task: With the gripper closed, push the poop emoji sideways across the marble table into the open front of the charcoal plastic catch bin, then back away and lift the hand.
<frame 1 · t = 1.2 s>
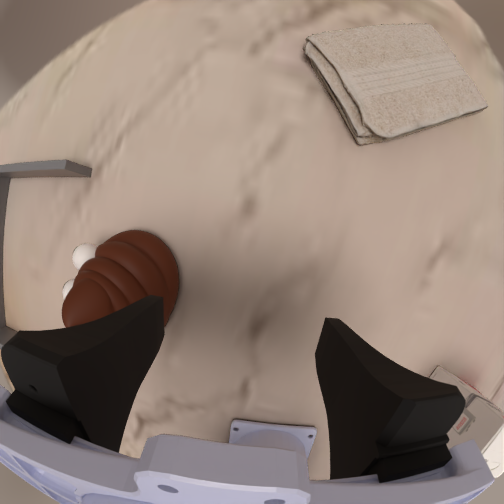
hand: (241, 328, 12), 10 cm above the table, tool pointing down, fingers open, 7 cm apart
catch bin: (34, 263, 23), on the table
poop emoji: (135, 286, 23), on the table
ink box: (444, 394, 22), on the table
washcloth: (400, 79, 21), on the table
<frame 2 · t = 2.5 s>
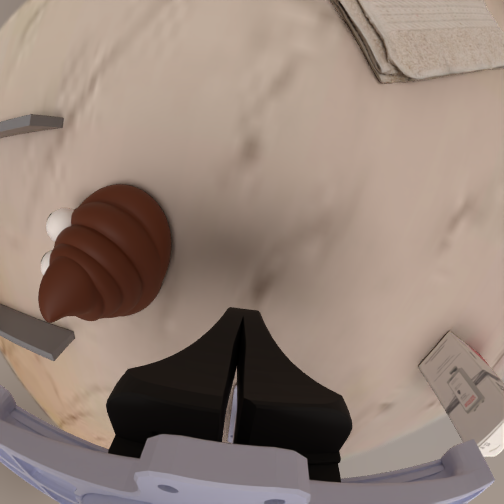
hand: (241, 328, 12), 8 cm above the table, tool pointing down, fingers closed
catch bin: (12, 231, 20), on the table
poop emoji: (122, 246, 20), on the table
ink box: (450, 359, 22), on the table
washcloth: (425, 17, 13), on the table
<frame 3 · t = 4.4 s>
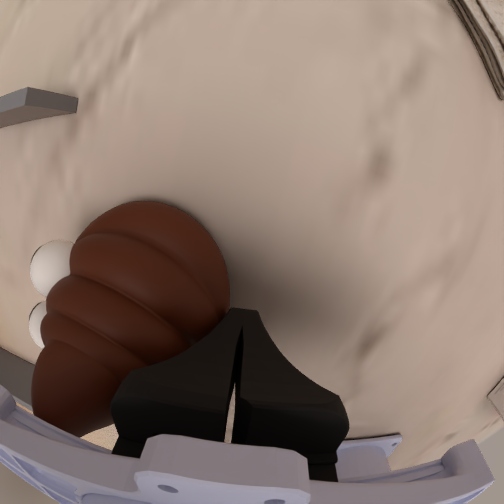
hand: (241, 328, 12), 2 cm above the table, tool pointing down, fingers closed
catch bin: (6, 262, 14), on the table
poop emoji: (147, 290, 14), on the table, touching gripper
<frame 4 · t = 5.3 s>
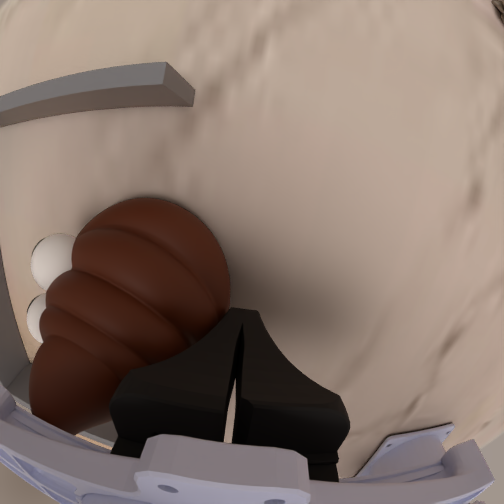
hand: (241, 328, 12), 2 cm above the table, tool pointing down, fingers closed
catch bin: (68, 277, 14), on the table
poop emoji: (147, 287, 14), on the table, touching gripper
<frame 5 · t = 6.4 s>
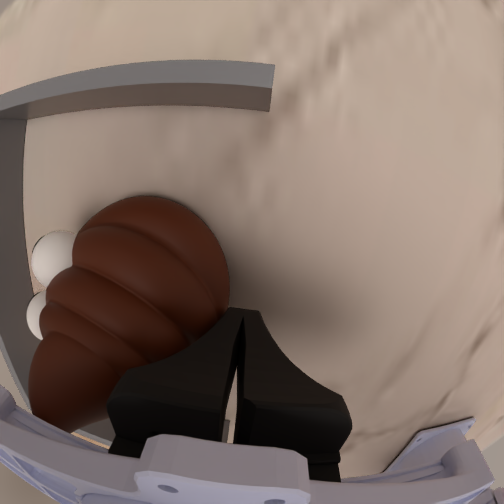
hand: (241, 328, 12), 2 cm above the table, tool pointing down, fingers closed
catch bin: (114, 286, 14), on the table
poop emoji: (146, 285, 14), on the table
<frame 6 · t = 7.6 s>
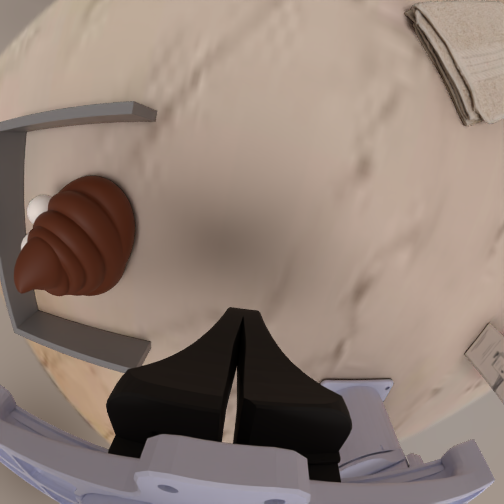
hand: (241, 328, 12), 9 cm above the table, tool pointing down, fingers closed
catch bin: (75, 234, 21), on the table
poop emoji: (94, 232, 21), on the table
ink box: (487, 347, 24), on the table
washcloth: (483, 55, 14), on the table
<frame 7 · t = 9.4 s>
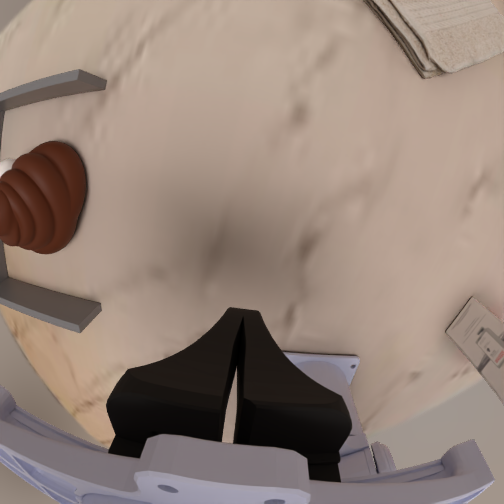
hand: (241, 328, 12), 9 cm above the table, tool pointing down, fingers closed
catch bin: (38, 198, 20), on the table
poop emoji: (54, 195, 20), on the table
ink box: (473, 327, 23), on the table
washcloth: (440, 12, 14), on the table
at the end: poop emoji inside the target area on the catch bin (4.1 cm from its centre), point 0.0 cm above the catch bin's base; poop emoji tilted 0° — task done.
